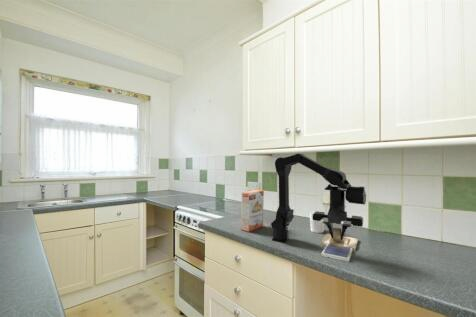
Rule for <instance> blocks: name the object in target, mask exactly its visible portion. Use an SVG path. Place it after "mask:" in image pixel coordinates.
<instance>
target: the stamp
mask: <svg viewBox="0 0 476 317" xmlns="http://www.w3.org/2000/svg"><path fill="white" fill-rule="evenodd" d="M341 233H342V228H341V227H340V228H339V227H333V239H331V240H330V246H333V247H338V248H343V246H344V244H345V240H341Z"/></svg>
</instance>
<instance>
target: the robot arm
mask: <svg viewBox="0 0 476 317" xmlns="http://www.w3.org/2000/svg"><path fill="white" fill-rule="evenodd" d="M297 164H301V165H302V166H304V167H305V168H307V169H309V170H311V171H313V172H315V173H316V174H318V175H320V176H321V177H322V178H323V179H324V180H325V181H326V182H328V183H329V184H327V186H326V187H325V188H324V190H325V191H329V208H328V210H327V214H326V212H325V211H321V212H319V211H320V210H315V211H316V212H315V213H314V214H313V220H316V221H320V220H322V219H323V223H324V225H326V227H327V229H328V232H329V234H330V235H331V238H332V239H333V228H334V225H333V224H337V225H341V224H342V223H343V224H342V226H341V240H343V237H344V236H345V235H346V231H347V229H348V228H351V226H355V227H360V228H361V227H362V228H363V225H364V218H363V217H362V216H359V215H351V217H348V212H347V211H345V210H346V209H345V208H346V201H347V202H348V203H349V204H355V205H365V206H366V202H367V194H366V190H365V189H366V188H365V186H352V185H351V184H350V183H349V181H348V179H347V176H346V173H345V172H343V171H342V170H338V169H335V168H332V167H328V166H325V165H323V164H321V163H320V162H318V161H316V160H314V159H312V158H310V157H309V156H306V155H305V154H304V153H295V154H293V155H290V156H286V157H282V156H280V157H277V158H276V159H275V161H274V167H275V171H276V173H277V176H278V207H277V211H276V214H275V219H274V220H273V221H272V222H271V223H270V225H271V228H272V231H273V232H272V233H273V234H272V235H273V236H272V238H271V241H275V242H280V243H286V242H287V241H288V240H289V239H290V231H289V230H288V229H289V225H290V223H292V222H293V218H295V216H294V212H295V211H294V209H292V208H291V207H290V191H289V190H290V185H289V184H290V183H289V180H290V179H289V178H290V173H291V171H292V166H295V165H297Z"/></svg>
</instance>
